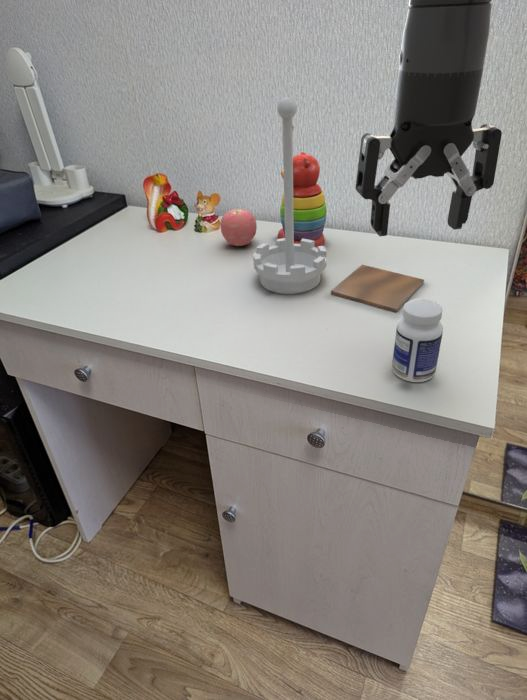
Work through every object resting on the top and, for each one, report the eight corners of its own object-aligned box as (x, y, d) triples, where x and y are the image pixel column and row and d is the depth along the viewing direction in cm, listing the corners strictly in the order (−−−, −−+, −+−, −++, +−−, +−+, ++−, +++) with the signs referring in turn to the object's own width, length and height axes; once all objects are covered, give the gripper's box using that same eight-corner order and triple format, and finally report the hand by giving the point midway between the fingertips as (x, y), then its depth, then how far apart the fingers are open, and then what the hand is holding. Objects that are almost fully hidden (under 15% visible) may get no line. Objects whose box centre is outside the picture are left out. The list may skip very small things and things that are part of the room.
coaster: (424, 282, 87) (424, 279, 87) (396, 312, 79) (396, 309, 79) (362, 267, 93) (362, 264, 93) (330, 293, 85) (330, 290, 85)
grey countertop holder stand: (321, 299, 84) (325, 105, 66) (247, 294, 86) (233, 106, 69) (329, 265, 94) (335, 90, 77) (263, 262, 97) (254, 91, 79)
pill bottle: (436, 361, 68) (448, 298, 62) (433, 387, 64) (446, 322, 58) (393, 355, 70) (402, 293, 64) (388, 379, 65) (396, 315, 60)
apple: (220, 239, 107) (217, 203, 102) (254, 235, 108) (251, 199, 103) (224, 253, 101) (220, 215, 96) (259, 249, 102) (257, 211, 97)
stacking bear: (277, 233, 108) (275, 148, 98) (323, 232, 108) (326, 146, 97) (277, 254, 99) (274, 163, 89) (327, 253, 99) (330, 161, 88)
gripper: (379, 74, 42) (365, 250, 52) (536, 63, 43) (495, 237, 53) (355, 65, 48) (346, 224, 58) (493, 56, 49) (463, 213, 59)
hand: (417, 230), depth 55 cm, fingers open, 8 cm apart
